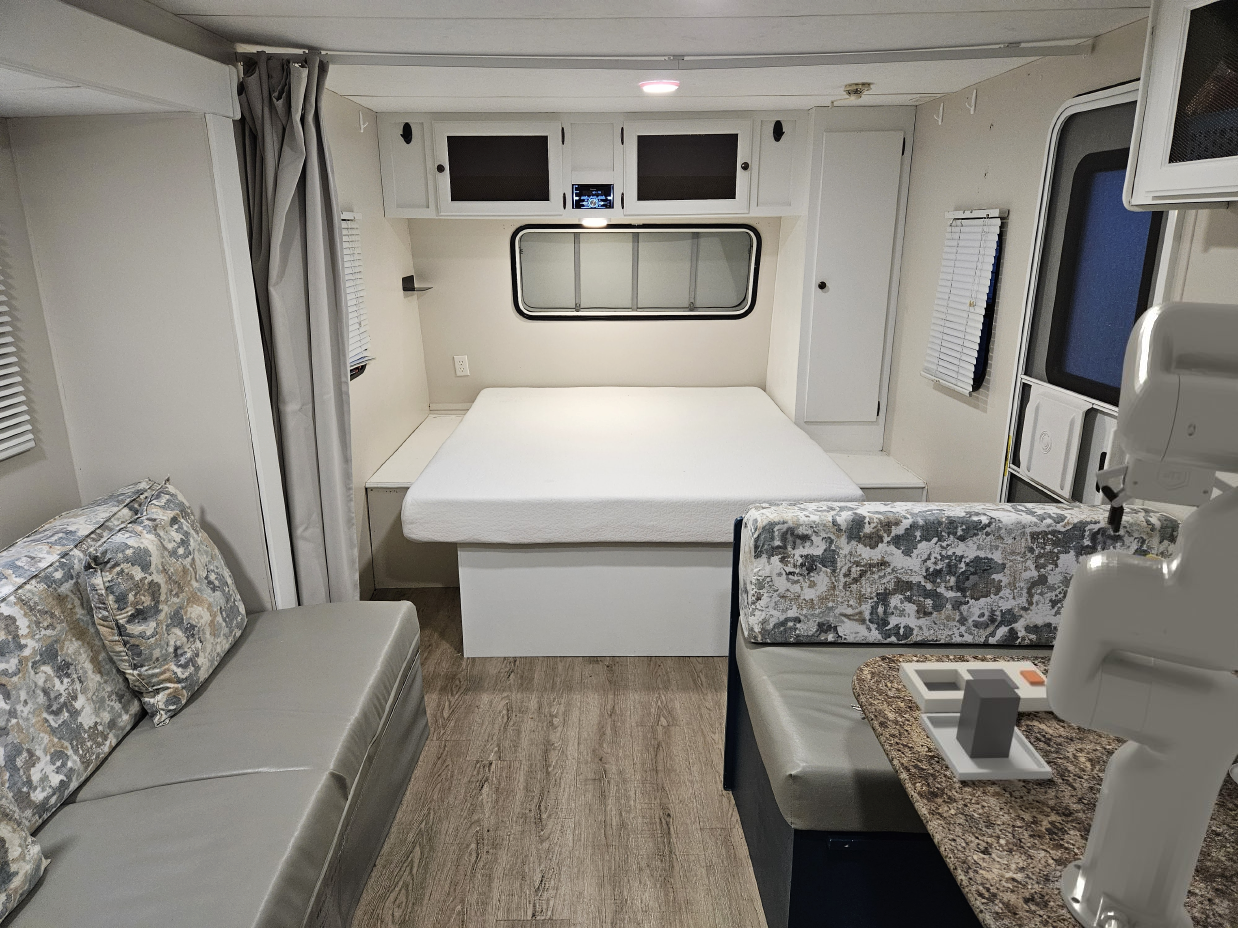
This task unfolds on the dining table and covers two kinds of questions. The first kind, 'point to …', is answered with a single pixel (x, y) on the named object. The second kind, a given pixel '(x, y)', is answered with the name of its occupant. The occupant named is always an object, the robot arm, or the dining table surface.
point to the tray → (1017, 766)
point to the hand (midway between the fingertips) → (1152, 535)
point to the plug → (987, 718)
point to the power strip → (942, 677)
